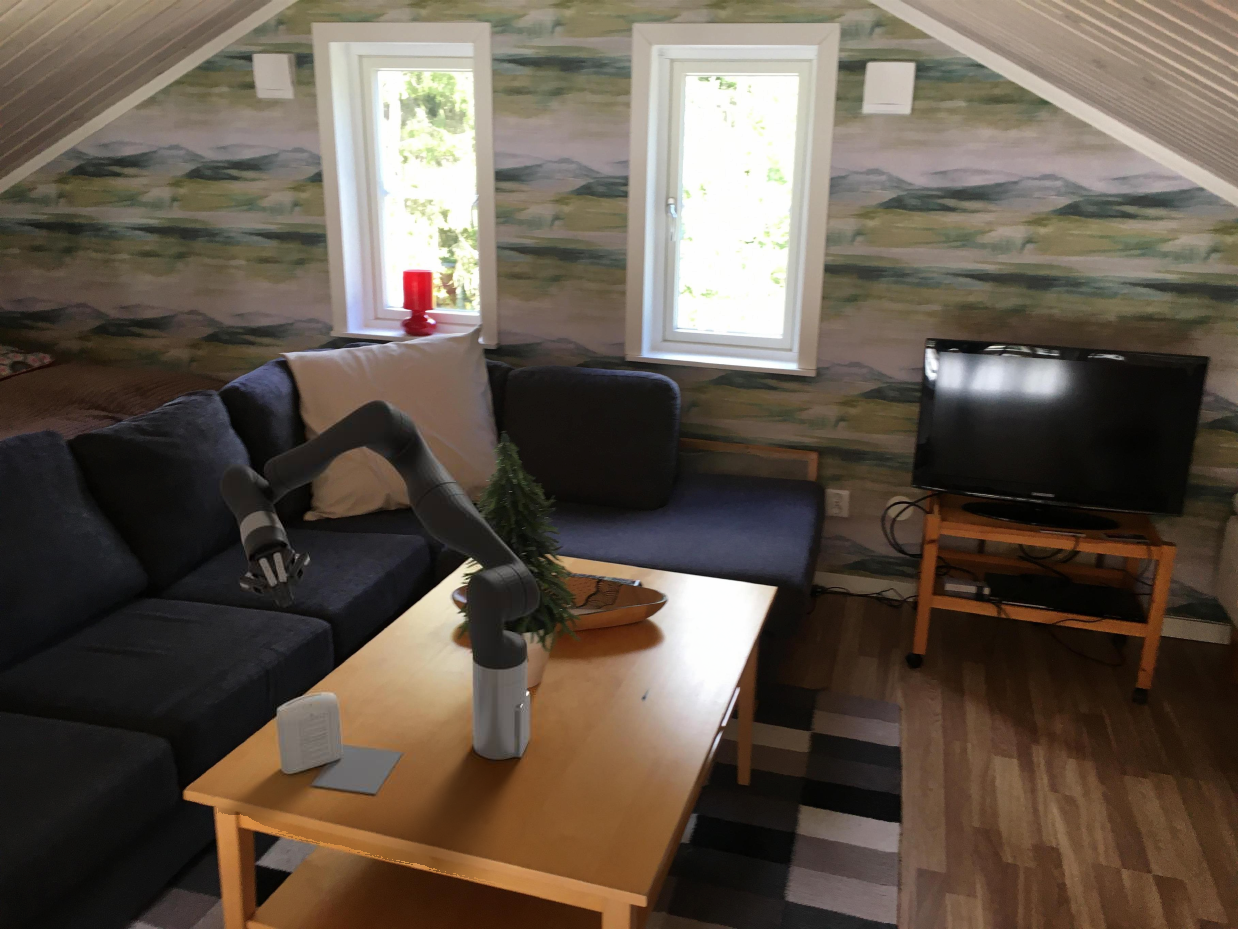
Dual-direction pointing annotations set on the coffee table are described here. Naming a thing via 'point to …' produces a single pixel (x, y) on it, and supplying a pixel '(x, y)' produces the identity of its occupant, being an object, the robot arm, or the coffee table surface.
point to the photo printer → (309, 732)
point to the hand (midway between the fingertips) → (285, 602)
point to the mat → (358, 770)
